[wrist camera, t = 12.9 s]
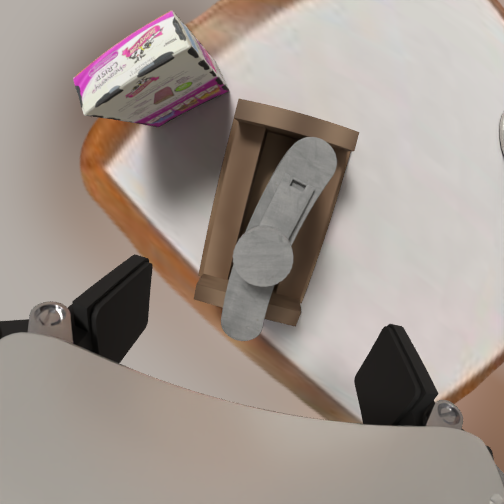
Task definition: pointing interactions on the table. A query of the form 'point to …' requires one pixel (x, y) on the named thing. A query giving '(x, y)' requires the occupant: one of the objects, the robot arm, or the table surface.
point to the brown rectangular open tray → (250, 191)
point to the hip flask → (274, 235)
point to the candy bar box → (150, 75)
